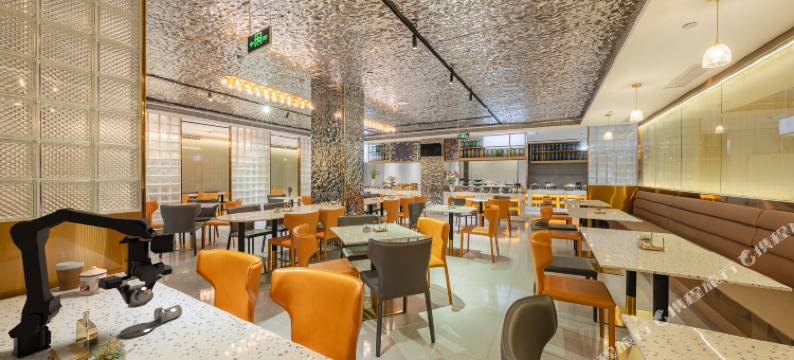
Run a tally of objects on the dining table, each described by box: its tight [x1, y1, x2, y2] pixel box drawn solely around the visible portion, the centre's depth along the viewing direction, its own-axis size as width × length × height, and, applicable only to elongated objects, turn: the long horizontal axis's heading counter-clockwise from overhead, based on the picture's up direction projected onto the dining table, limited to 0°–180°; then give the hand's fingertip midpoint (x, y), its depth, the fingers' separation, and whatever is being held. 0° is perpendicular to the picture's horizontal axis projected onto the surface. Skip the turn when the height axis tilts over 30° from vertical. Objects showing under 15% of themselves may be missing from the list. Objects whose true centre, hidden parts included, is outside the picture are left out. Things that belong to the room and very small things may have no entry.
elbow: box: [127, 283, 154, 309], centre depth 101 cm, size 9×5×6 cm, turn 65°
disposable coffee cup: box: [54, 260, 85, 292], centre depth 141 cm, size 10×10×12 cm
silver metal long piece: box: [119, 304, 183, 340], centre depth 106 cm, size 17×9×6 cm, turn 155°
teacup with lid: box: [79, 265, 108, 296], centre depth 136 cm, size 12×9×12 cm
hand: (137, 301), depth 102 cm, fingers closed on elbow, 5 cm apart
